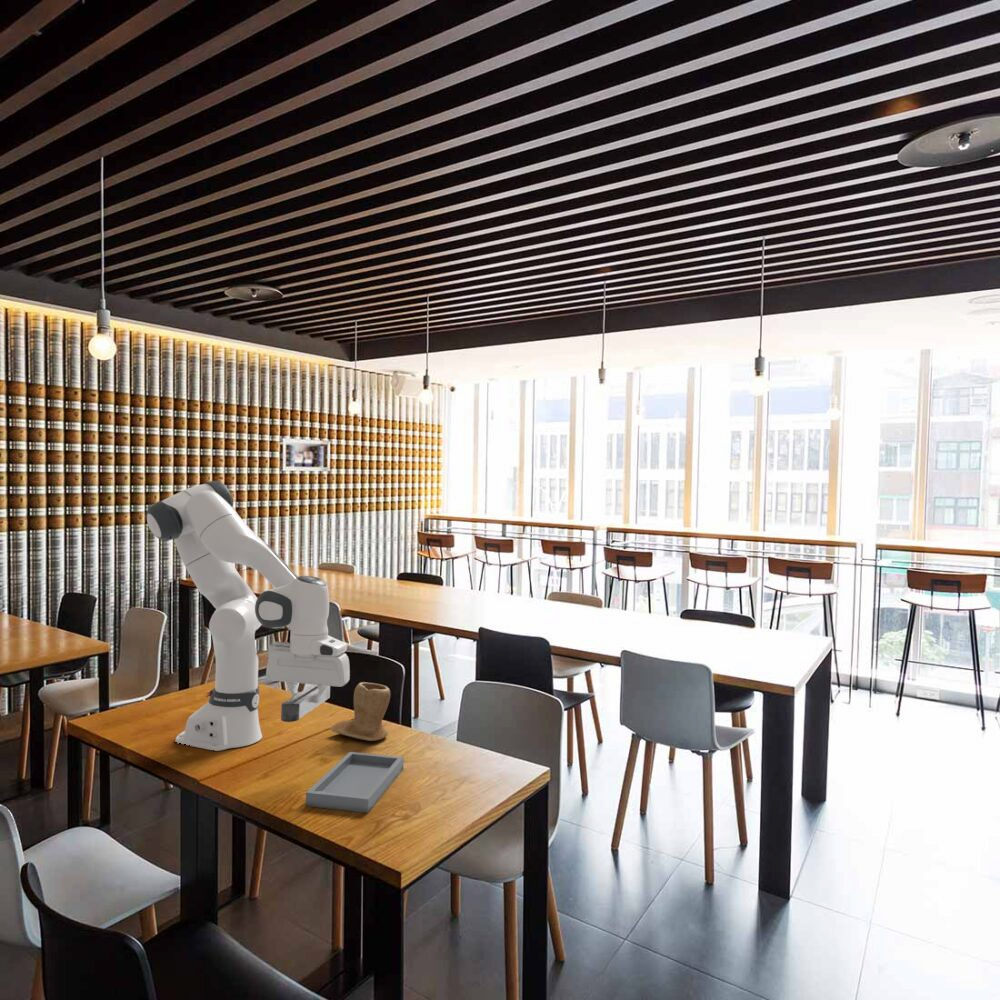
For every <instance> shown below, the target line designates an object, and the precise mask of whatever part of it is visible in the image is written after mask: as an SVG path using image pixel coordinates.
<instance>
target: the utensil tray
mask: <svg viewBox="0 0 1000 1000" xmlns="http://www.w3.org/2000/svg"><path fill="white" fill-rule="evenodd" d="M404 760H405V759H404V756H396V755H385V754H375V753H366V752H365V753H364V752H355V751H349V752H348V753H347V754H346V755H344V757H342V758H341V759H340V760H339V761H338V762H337V763H336V764H335V765H334V766H332V768H330V770H329V771H328V772H326V773H325V774H324V775H323V776H322V777H321V778H320V779H319V780H318V781H316V783H314V784H313V785H312V786H311V787H310V788H309V789H308V790H307V791H306V792H305V807H310V808H311V807H312V808H320V809H321V808H322V809H327V810H328V809H329V810H336V811H346V812H347V811H348V812H353V813H354V812H355V813H362V814H363V813H364V814H368V813H370V811H371V810H372V809H373V808H374V806H375V805H376V804H377V802H378V801H379V800H380V799H381V798H382V796H383V795H384V794H385V792H386V791H387V790H388V789H389V787H391V785H392V784H393V782H394V781H395V780H396V779H397V777H398V776H399V775H400V774H401V773H402V771H403V770H404V762H405V761H404Z"/></svg>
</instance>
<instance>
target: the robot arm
mask: <svg viewBox="0 0 1000 1000" xmlns="http://www.w3.org/2000/svg"><path fill="white" fill-rule="evenodd" d="M145 516H146V522H147V526H148V528H149V530H150V532H151V533H152V534H153V535H154V536H155V537H156V538H157V539H158V540H161V541H165V542H166V541H172V540H174V544H175V546H176V550H177V552H178V554H179V557H180V559H181V562H182V564H183V565H184V567H185V569H186V570H187V573H188V574H189V575H190V579H191V580H192V582H193V583H194V586H196V589H197V590H198V592H199V593H200V594H201V595H202V596H204V597H205V598H206V599H207V600H208V601H209V603H210V604H211V605H212V606H213V608H215V610H214V612H213V613H212V615H211V617H210V620H209V623H208V629H209V633H210V635H211V637H212V643H213V644H212V645H213V650H214V656H215V679H214V680H215V681H214V682H215V683H214V684H215V685H214V688H212V689H211V690H210V691H209V692H205V698H208V697H209V699H208V701H207V702H206V703H205V704H204V705H202V706H201V707H199V709H197V710H196V711H195V712H193V713H192V714H191V715H190V716H189V717H188V718H187V721H186V723H185V729H184V731H182V732H180V733H179V734H177V736H176V737H175V740H174V741H175V742H177V743H176V744H179V743H181V744H180V745H184V744H186V745H185V746H189V745H190V746H189V747H194V748H199V749H205V750H208V751H209V750H210V751H213V750H214V751H215V752H219V751H224V750H227V749H234V748H240V747H241V748H242V747H246V746H250V745H253V744H255V743H257V742H260V741H261V740H262V738H263V734H262V730H261V726H260V720H259V709H258V708H259V703H260V687H259V686H258V685H259V682H258V681H259V680H258V679H259V656H258V655H257V654H258V653H257V648H256V637H255V635H256V631H257V630H258V629H260V627H261V626H263V627H265V628H269V629H280V628H284V627H288V628H289V630H290V635H289V636H290V637H289V642H287V641H284V642H282V641H274V642H273V643H271V644H269V646H268V650H267V656H268V660H267V664H266V665H267V666H266V671H265V677H266V678H267V680H268V681H273V682H284V683H285V682H286V683H288V684H287V687H288V690H289V691H290V693H291V698H292V697H294V696H295V695H297V694H299V693H300V692H301V691H298V688H297V685H298V684H305V685H313V684H315V685H317V689H320V690H319V691H318V693H317V694H315V695H313V703H320V702H321V694H322V693H323V692H324V690H325V689H326V686H330V687H338V688H339V687H344V686H346V685H347V684H348V683H349V681H350V676H351V674H350V673H351V670H350V659H349V656H348V655H347V653H345V652H346V651H347V650H348V644H347V643H346V642H344V641H342V640H339V639H338V638H335V637H333V636H331V635H329V627H328V619H329V616H330V615H329V614H330V591H329V586H328V583H327V582H326V581H325V580H324V579H322V578H320V577H317V576H313V575H312V576H311V575H300V576H298V575H297V574H296V573H295V572H294V570H293V569H291V567H289V565H288V564H287V563H286V562H285V561H284V560H283V558H282V557H281V556H280V555H278V553H277V552H276V551H275V550H274V549H273V548H272V547H271V546H270V545H268V544H267V543H266V542H265V541H264V540H263V539H262V538H261V537H259V536H258V535H257V534H256V533H255V531H253V530H252V528H250V527H249V526H248V524H246V522H245V521H244V520H243V519H242V518H241V516H240V515H239V514H238V512H237V511H236V510H235V509H234V498H233V496H232V493H231V492H230V490H229V488H228V487H227V486H226V484H224V483H223V482H222V481H219V480H211V481H206V482H204V483H203V484H198V485H195V486H191V487H189V488H186V489H182V490H181V491H180V492H177V493H176V494H173V495H170V496H169V497H167V498H165V499H163V500H159V501H156V502H155V503H153V504H152V505H150V506H149V507H148V508H147V511H146V513H145ZM234 564H237V565H241V566H246V567H248V568H251V569H254V570H255V571H257V572H258V573H260V574H261V575H262V576H263V577H264V578H265V579H266V581H267V582H268V583H269V584H270V585H271V586H272V587H273V588H271V589H268V590H265V591H263V592H261V593H260V594H259V595H258V597H257V596H256V594H255V593H254V592H253V590H252V589H251V587H250V586H249V585H248V583H246V581H245V580H244V579H243V577H242V576H241V575H240V574H239V572H238V570H237V569H236V566H235V565H234Z"/></svg>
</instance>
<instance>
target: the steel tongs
mask: <svg viewBox="0 0 1000 1000" xmlns="http://www.w3.org/2000/svg"><path fill="white" fill-rule="evenodd" d="M319 690H320V689H317V685H315V684H311V685H310V686H309V687H306V688H305V689H303V690H302V691H299V692H300V693H299V694H297V695H295V696H294V697H292V696H291V697H290V698H288V699H287V700H285V701H284V702H282V703H281V707H280V708H281V709H280V720H281V722H286V723H293V722H297V721H299V720H300V719H301V718H303V717H304V716H305V715H307V714H309V713H310V712H311V711H313V710H314V709H315V708H317V707H318V706H320V705H321V704H323V703H324V702H326V701H327V700H328V699H331V698H330V697H331V686H326V689H325V690H324V692H323V693H322V694H321V702H320V703H313V695H315V694H317V693H318V691H319Z"/></svg>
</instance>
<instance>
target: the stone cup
mask: <svg viewBox="0 0 1000 1000" xmlns="http://www.w3.org/2000/svg"><path fill="white" fill-rule="evenodd" d="M390 699H391V690H390V688H389V687H388V686H387V685H384V684H380V683H374V682H365V681H362V682H359V683H358V684H357V685H356V686H355V688H354V691H353V710H354V713H353V714H354V718H353V719H352V720H349V719H348V720H347V719H346V720H341V721H338V722H336V723H334V724H333V725H332V726H331V727H330V731H331V732H333V733H337V734H340V735H341V736H346V737H349V738H353V739H359V740H362V741H369V742H376V741H379V740H382V739H384V738H386V737H387V736H388V735H389V731H388V730H387V729H386V728H384V727H383V720H384V719H383V718H384V716H385V714H386V711H387V709H388V706H389V703H390V701H391V700H390Z"/></svg>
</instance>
